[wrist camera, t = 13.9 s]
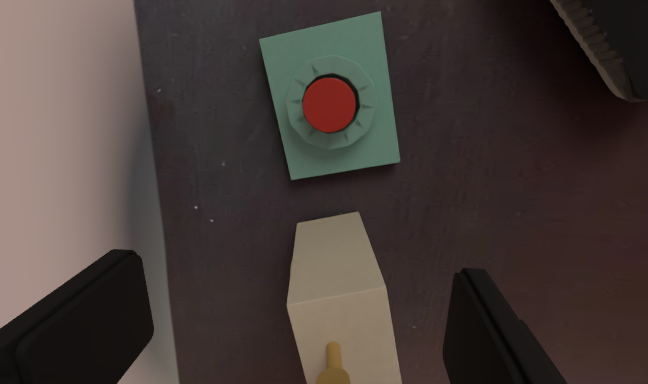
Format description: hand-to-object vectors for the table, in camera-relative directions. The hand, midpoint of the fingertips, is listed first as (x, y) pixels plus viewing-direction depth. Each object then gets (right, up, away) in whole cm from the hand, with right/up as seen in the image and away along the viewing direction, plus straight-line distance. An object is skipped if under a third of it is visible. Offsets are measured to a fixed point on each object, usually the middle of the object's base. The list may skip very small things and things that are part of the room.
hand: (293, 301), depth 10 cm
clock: (+5, -5, +13) cm, 15 cm away
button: (+1, +10, +15) cm, 18 cm away
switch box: (+2, +10, +17) cm, 20 cm away
